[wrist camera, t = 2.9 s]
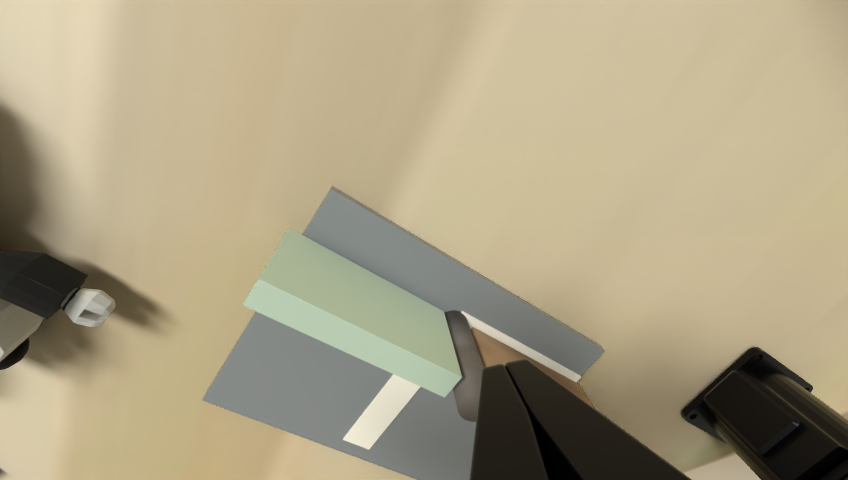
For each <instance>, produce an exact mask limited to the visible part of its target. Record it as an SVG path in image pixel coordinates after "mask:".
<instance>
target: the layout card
mask: <svg viewBox="0 0 848 480" xmlns="http://www.w3.org/2000/svg"><path fill="white" fill-rule="evenodd" d="M303 235H304V236H305V237H307V238H309V239H311V240H313V241H315V242H317V243H318V244H320V245H322V246H324V247H326V248H328V249H329V250H331V251H333V252H335V253H337V254H339V255H341V256H342V257H344V258H346V259H348V260H350V261H352V262H354V263H355V264H357V265H359V266H361V267H363V268H365V269H367V270H368V271H370V272H372V273H374V274H376V275H378V276H380V277H381V278H383V279H385V280H387V281H389V282H391V283H393V284H394V285H396V286H398V287H400V288H402V289H404V290H406V291H407V292H409V293H411V294H413V295H415V296H417V297H419V298H420V299H422V300H424V301H426V302H428V303H430V304H432V305H433V306H435V307H437V308H439V309H441V310H443V311H444V313H445V312H448V311H452V310H456V311H460V312H461V313H462V314H463V315H465V317H466V318H467V321H468V324H469V326H470V329H471V328H472V327H474V328H476V329H478V330H480V331H482V332H484V333H485V334H487V335H489V336H491V337H493V338H495V339H497V340H498V341H500V342H502V343H504V344H506V345H508V346H509V347H511V348H513V349H515V350H517V351H519V352H521V353H522V354H524V355H526V356H528V357H530V358H532V359H534V360H535V361H537V362H539V363H541V364H543V365H545V366H547V367H548V368H550V369H552V370H554V371H556V372H558V373H560V374H561V375H563V376H565V377H567V378H569V379H571V380H573V381H574V382H577V381H578V380H579V379H580V378H581V375H582V374H583V373H584V372H585V371H586V370H587V369H588V368H589V367H590V366H591V365H592V364H593V363H594V362H595V361H596V360H597V359H598V358H599V356H600V355H601V354H602V353H603V352H604V349H603V348H602V347H601V346H600V345H598V344H597V343H595V342H593V341H592V340H590V339H588V338H587V337H585V336H583V335H582V334H580V333H578V332H577V331H575V330H573V329H572V328H570V327H568V326H567V325H565V324H563V323H561V322H560V321H558V320H556V319H555V318H553V317H551V316H550V315H548V314H546V313H545V312H543V311H541V310H540V309H538V308H536V307H535V306H533V305H531V304H530V303H528V302H526V301H525V300H523V299H521V298H519V297H518V296H516V295H514V294H513V293H511V292H509V291H508V290H506V289H504V288H503V287H501V286H499V285H498V284H496V283H494V282H493V281H491V280H489V279H488V278H486V277H484V276H482V275H481V274H479V273H477V272H476V271H474V270H472V269H471V268H469V267H467V266H466V265H464V264H462V263H461V262H459V261H457V260H456V259H454V258H452V257H451V256H449V255H447V254H445V253H444V252H442V251H440V250H439V249H437V248H435V247H434V246H432V245H430V244H429V243H427V242H425V241H424V240H422V239H420V238H419V237H417V236H415V235H414V234H412V233H410V232H409V231H407V230H405V229H403V228H402V227H400V226H398V225H397V224H395V223H393V222H392V221H390V220H388V219H387V218H385V217H383V216H382V215H380V214H378V213H377V212H375V211H373V210H372V209H370V208H368V207H366V206H365V205H363V204H361V203H360V202H358V201H356V200H355V199H353V198H351V197H350V196H348V195H346V194H345V193H343V192H341V191H340V190H338V189H336V188H335V187H333V186H332V187H331V189H330V191H329V192H328V194H327V196H326V197H325V199H324V200H323V202H322V204H321V205H320V207H319V209H318V210H317V212H316V214H315V215H314V217H313V218H312V220H311V222H310V223H309V225H308V227H307V228H306V230H305V232H304V233H303ZM202 400H203V401H205V402H208V403H211V404H214V405H216V406H219V407H222V408H224V409H227V410H230V411H233V412H235V413H238V414H241V415H243V416H246V417H249V418H252V419H254V420H257V421H260V422H262V423H265V424H268V425H271V426H273V427H276V428H279V429H281V430H284V431H287V432H290V433H292V434H295V435H298V436H300V437H303V438H306V439H309V440H311V441H314V442H317V443H319V444H322V445H325V446H327V447H330V448H333V449H336V450H338V451H341V452H344V453H346V454H349V455H352V456H355V457H357V458H360V459H363V460H365V461H368V462H371V463H374V464H376V465H379V466H382V467H384V468H387V469H390V470H393V471H395V472H398V473H401V474H403V475H406V476H409V477H412V478H414V479H417V480H470V471H471V463H472V454H473V445H474V437H475V428H476V422H470V421H466V420H464V419H463V418H462V417H461V416H460V415H459V413H458V409H457V405H456V401H455V397H454V392H453V389H452V390H451V391H450V392H449V393H448V394H447V396H446V397H442V396H440V395H438V394H436V393H434V392H431V391H429V390H427V389H425V388H423V387H420V386H418V385H416V384H414V383H412V382H410V381H407V380H405V379H403V378H401V377H399V376H396V375H394V374H392V373H390V372H388V371H385V370H383V369H381V368H379V367H377V366H375V365H372V364H370V363H368V362H366V361H364V360H361V359H359V358H357V357H355V356H353V355H350V354H348V353H346V352H344V351H342V350H339V349H337V348H335V347H333V346H331V345H329V344H326V343H324V342H322V341H320V340H318V339H315V338H313V337H311V336H309V335H307V334H304V333H302V332H300V331H298V330H296V329H294V328H291V327H289V326H287V325H285V324H283V323H280V322H278V321H276V320H274V319H272V318H269V317H267V316H265V315H263V314H261V313H258V312H255V313H254V315H253V317H252V318H251V320H250V322H249V323H248V325H247V327H246V328H245V330H244V331H243V333H242V335H241V336H240V338H239V340H238V341H237V343H236V345H235V346H234V348H233V350H232V351H231V353H230V354H229V356H228V358H227V359H226V361H225V363H224V364H223V366H222V368H221V369H220V371H219V372H218V374H217V376H216V377H215V379H214V381H213V382H212V384H211V386H210V387H209V389H208V390H207V392H206V394H205V396H204V397H203V399H202Z"/></svg>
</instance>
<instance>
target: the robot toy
mask: <svg viewBox="0 0 848 480" xmlns="http://www.w3.org/2000/svg"><path fill="white" fill-rule="evenodd" d="M87 276H88V275H86V274H84V273H82V272H80V271H78V270H76V269H74V268H73V267H71V266H69V265H67V264H65V263H63V262H61V261H59V260H57V259H55V258H53V257H51V256H49V255H47V254H43V253H31V252H20V251H0V370H2V369H6V368H9V367H10V366H12V365H14V364H15V363H17V362H19V361H20V360H21V359H22V358H23V357H24V355H25V354H26V353H27V351H28V348H29V343H30V342H29V339H28V337H29V336H30V335H31V334H33V333H34V332H35V331H36V330H37V329H38V327H39V326H40V324H41V322H42V321H43V319H44V318H45V319H48V318H49V317H50V316H52V315H53V314H54V313H55V312H57V311H58V310H59V309H60V308H61V307H62V310H63V311H64V312H65V313H66V314H67V315H68V316H69V318H70V319H71V320H72V321H73V322H74V323H77V324H80V325H84V326H88V327H95V326H99V325H101V324H103V322H104V321H105V320H106V319H107V318H108V316H109V314H110V313H111V312H112V311H113V310H114V309H115V300H114V299H113V298H111V297H110V296H109V295H107V294H106V293H105V292H104V291H102V290H97V289H88V288H80V287H81V285H82V284H83V283H84V281H85V279H86V278H87Z"/></svg>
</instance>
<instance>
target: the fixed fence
mask: <svg viewBox="0 0 848 480" xmlns="http://www.w3.org/2000/svg"><path fill="white" fill-rule="evenodd" d="M444 314H445V317H446V321H447V324H448V328H449V332H450V335H451V339H452V343H453V346H454V350H455V353H456V357H457V361H458V364H459V368H460V371H461V375H462V378H461V379H460V380H459V382H458V383H457V384H456V385H455V386H454V387H453V392H454V397H455V401H456V405H457V409H458V413H459V415H460V416H461V417H462V418H463V419H464V420H466V421H470V422H476V419H477V410H478V402H479V393H480V384H481V376H482V370H483V368H484V367H487V366H492V365H496V364H503V365H504V366H505V364H506V363H507V362H509V361H514V360H518V359H527V360H529V361H530V362H532V363H533V364H535V365H536V366H537V367H539V368H540V369H541V370H543V371H544V372H545V373H547V374H548V375H550V376H551V377H552V378H554V379H555V380H556V381H558V382H559V383H560V384H562V385H563V386H565V387H566V388H567V389H569V390H570V391H571V392H573V393H574V394H575V395H577V396H578V397H580V398H581V399H582V400H584V401H585V402H586V403H588V404H589V405H590V406H592V407H593V408H594V406H593V405H592V403H591V402H590V400H589V398H588V397H587V395H586V394H585V392H584V391H583V389H582V388H581V386H580V385H579V384H578V383H576V382H574V381H573V380H571V379H569V378H567V377H565V376H563V375H561V374H560V373H558V372H556V371H554V370H552V369H550V368H548V367H547V366H545V365H543V364H541V363H539V362H537V361H535V360H534V359H532V358H530V357H528V356H526V355H524V354H522V353H521V352H519V351H517V350H515V349H513V348H511V347H509V346H508V345H506V344H504V343H502V342H500V341H498V340H497V339H495V338H493V337H491V336H489V335H487V334H485V333H484V332H482V331H480V330H478V329H476V328H474V327H472V328H471V329H470V326H469V324H468V321H467V318H466V317H465V315H463V314H462V313H461V312H460V311H456V310H452V311H448V312H445V313H444Z"/></svg>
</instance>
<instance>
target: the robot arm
mask: <svg viewBox="0 0 848 480" xmlns="http://www.w3.org/2000/svg"><path fill="white" fill-rule="evenodd" d="M812 390H813V387H812V385H810V384H809V383H808V382H806V381H805V380H803V379H802V378H801V377H799V376H798V375H796V374H795V373H794V372H792V371H791V370H790V369H788V368H787V367H785V366H784V365H783V364H781V363H780V362H778V361H777V360H776V359H774V358H773V357H771V356H770V355H769V354H767V353H766V352H765V351H763V350H762V349H760V348H758V347H754V348H752V349H750V350H749V351H748V352H747V353H746V354H744V355H743V356H742V357H741V358H740V359H739V360H738V361H737V362H736V363H734V364H733V365H732V366H731V367H730V368H729V369H728V370H727V371H726V372H725V373H723V374H722V375H721V376H720V377H719V378H718V379H717V380H716V381H715V382H714V383H712V384H711V385H710V386H709V387H708V388H707V389H706V390H705V391H704V392H703V393H701V394H700V395H699V396H698V397H697V398H696V399H695V400H694V401H693V402H691V403H690V404H689V405H688V406H687V407H686V408H685V409H684V410H683V411H682V416H683V417H684V418H685V419H686V420H687V421H688V422H689V423H691V424H693V425H695V426H696V427H698V428H700V429H702V430H704V431H705V432H707V433H709V434H711V435H712V436H714V437H716V438H718V439H719V440H721V441H723V442H725V443H727V444H728V445H729V446H730V447H731V448H732V449H733V450H734V451H735V452H736V454H737V455H738V456H739V457H740V458H741V459H742V460H743V461H744V462H745V463H746V464H747V465H748V466H749V467H750V468H751V469H752V470H753V471H754V472H755V474H756V475H757V476H758V477H759V478H760V479H761V480H848V420H847V419H845V418H844V417H843V416H841V415H840V414H839V413H837V412H836V411H835V410H833V409H832V408H830V407H829V406H828V405H826V404H825V403H824V402H822V401H821V400H820V399H818V398H817V397H815V396H814V395H813V394H811V391H812ZM470 480H691V479H690V478H689V477H687V476H686V475H685V474H683V473H682V472H680V471H679V470H678V469H676V468H675V467H674V466H672V465H671V464H670V463H668V462H667V461H665V460H664V459H663V458H661V457H660V456H659V455H657V454H656V453H655V452H653V451H652V450H650V449H649V448H648V447H646V446H645V445H644V444H642V443H641V442H640V441H638V440H637V439H635V438H634V437H633V436H631V435H630V434H629V433H627V432H626V431H625V430H623V429H622V428H620V427H619V426H618V425H616V424H615V423H614V422H612V421H611V420H610V419H608V418H607V417H605V416H604V415H603V414H601V413H600V412H599V411H597V410H596V409H595V408H593V407H592V406H590V405H589V404H588V403H586V402H585V401H584V400H582V399H581V398H580V397H578V396H577V395H575V394H574V393H573V392H571V391H570V390H569V389H567V388H566V387H565V386H563V385H562V384H560V383H559V382H558V381H556V380H555V379H554V378H552V377H551V376H550V375H548V374H547V373H545V372H544V371H543V370H541V369H540V368H539V367H537V366H536V365H535V364H533V363H532V362H530V361H529V360H527V359H518V360H514V361H509V362H507V363H506V364H505V366H504V365H503V364H496V365H492V366H487V367H484V368H483V370H482V376H481V384H480V393H479V402H478V410H477V419H476V428H475V437H474V445H473V454H472V463H471V471H470Z"/></svg>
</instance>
